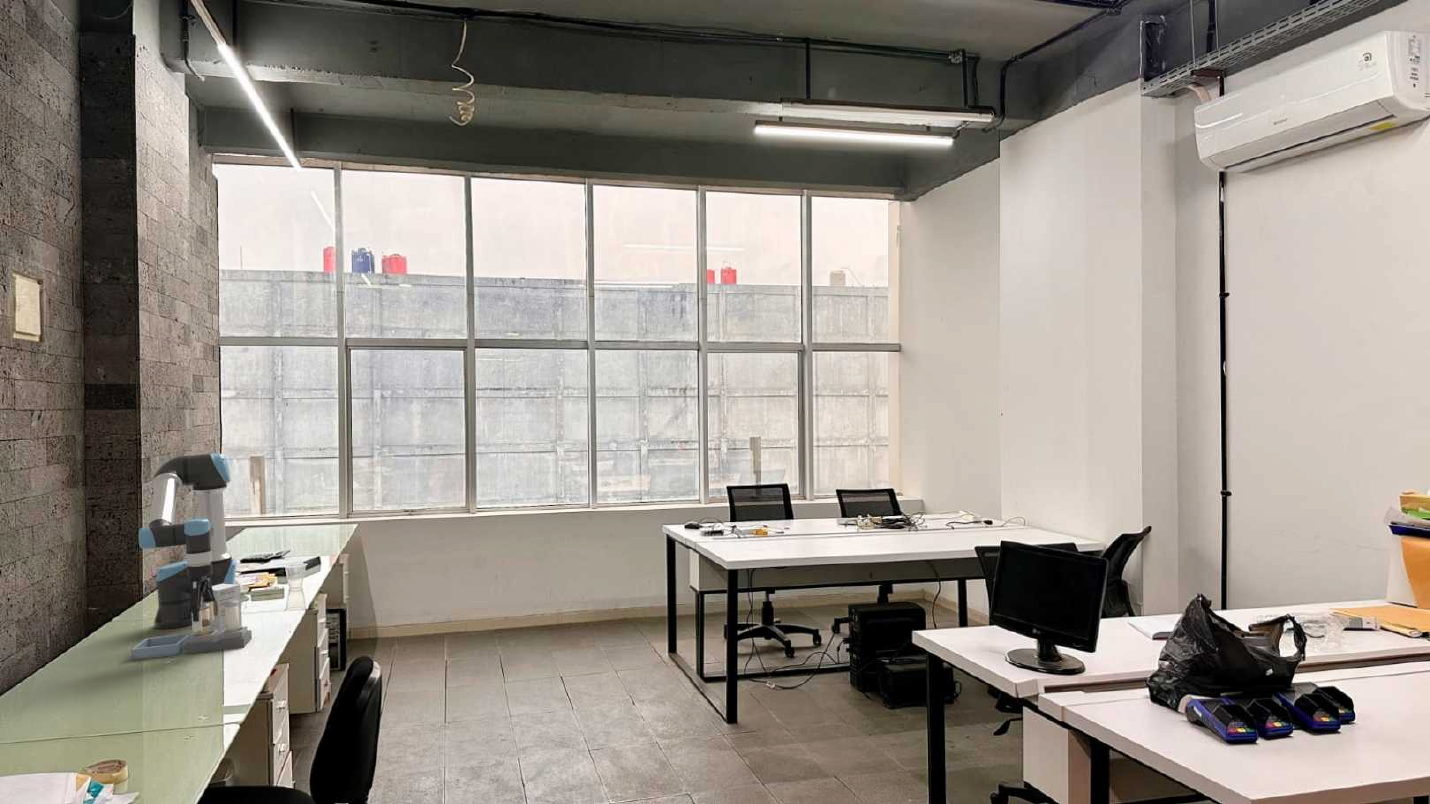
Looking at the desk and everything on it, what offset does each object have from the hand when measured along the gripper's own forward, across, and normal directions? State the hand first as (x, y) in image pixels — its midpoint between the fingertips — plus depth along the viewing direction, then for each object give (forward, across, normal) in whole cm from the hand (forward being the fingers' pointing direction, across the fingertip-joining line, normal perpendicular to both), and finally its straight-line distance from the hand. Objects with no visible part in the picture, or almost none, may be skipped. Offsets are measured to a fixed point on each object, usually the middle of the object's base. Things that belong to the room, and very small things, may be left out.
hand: (203, 625), depth 301 cm
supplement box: (+8, -21, 0) cm, 22 cm away
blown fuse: (+5, 0, 0) cm, 5 cm away
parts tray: (+8, -2, -14) cm, 16 cm away
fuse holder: (+8, 0, +4) cm, 9 cm away
